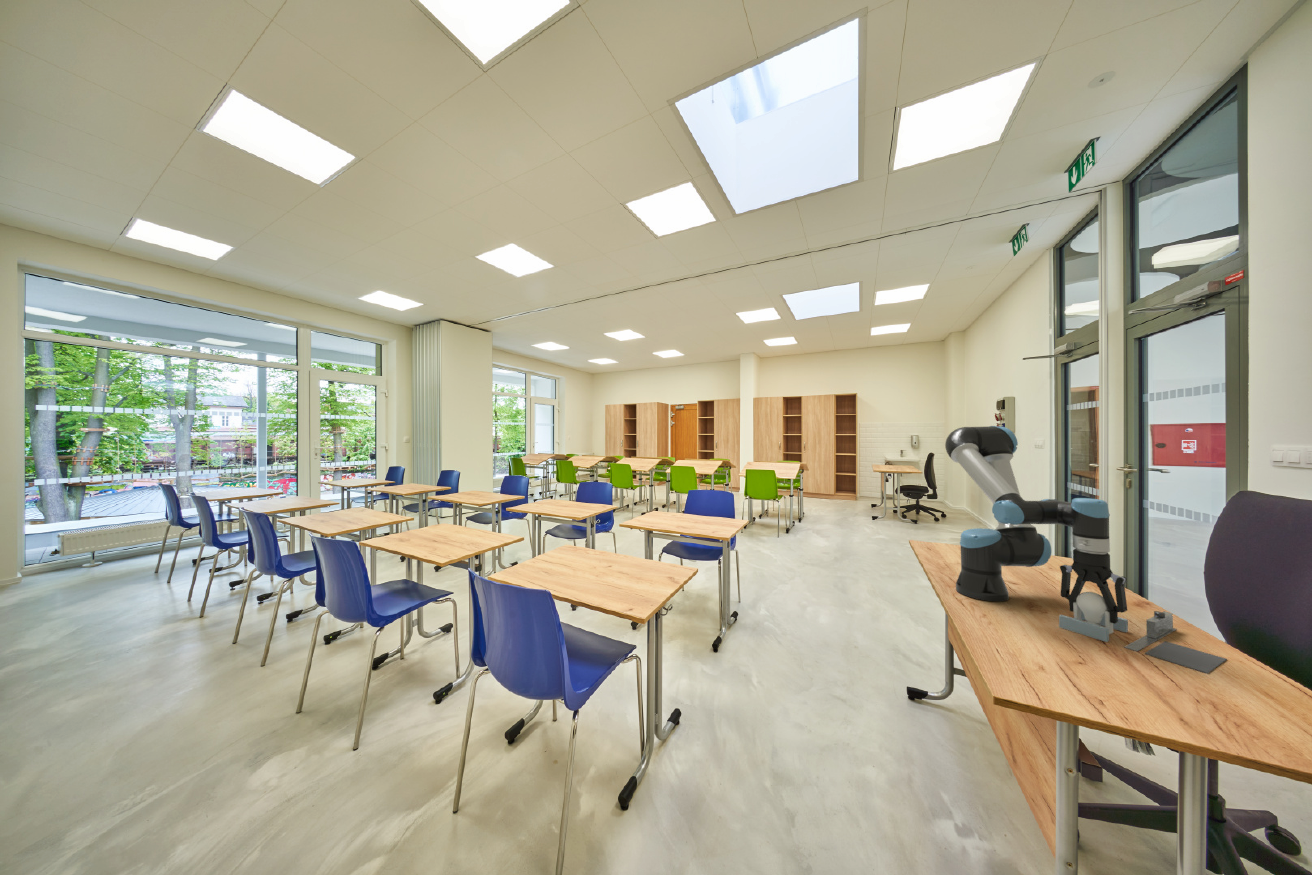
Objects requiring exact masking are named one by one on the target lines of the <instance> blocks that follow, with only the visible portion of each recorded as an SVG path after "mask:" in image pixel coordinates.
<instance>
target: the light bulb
mask: <svg viewBox="0 0 1312 875" xmlns="http://www.w3.org/2000/svg"><path fill="white" fill-rule="evenodd" d="M1076 601H1077V605H1078V606H1079V608H1080V609H1081V610H1082V612H1083V614H1084V617H1085V619H1086V621H1085V622H1088V623H1092V624H1095V625H1098V626H1101V625H1100V623H1101V620H1102V617H1103V616H1104V615H1105V611H1108V607H1107V605H1106V603H1105V600H1104V598H1103V596H1102V594H1098V593H1097V592H1093V591H1084V592H1081V593H1080V594H1079V595H1078V597H1077V599H1076Z"/></svg>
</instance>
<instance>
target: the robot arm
mask: <svg viewBox="0 0 1312 875" xmlns="http://www.w3.org/2000/svg"><path fill="white" fill-rule="evenodd" d="M1018 444H1019V443H1018V439H1017V437H1016V433H1015V432H1013V431H1012V430H1011V429H1009V428H1007V427H1005V426H996V425H990V426H964V427H963V426H962V427H958V428H957V429H954V430H952V432H950V433H949V434H948V436H947V437H946V440H945V444H944V445H945V450H946V454H947V455H948V457H949V458H950V459H951V460H952V461H953V462H954V463H957V464H959V465H960V466H961V468H962V469H963V470H964V471H965V472H966V473H967V475H968V476H969V477H970V478H971V479H972V480H973V481H974V482H975V484H976V485H977V486H978V488H979V489H981V491H982V492H983V493H984V494H985V495H986V496H987V498H988V499H989V500H990V501H991V502H992V507H991V511H992V514H993V518H994V519H995V520H996V521H997V524H998V525H997V527H996V528H995V529H993V528H981V527H980V528H978V527H977V528H970V529H966V530H963V531H962V532H961V533H960V541H959V544H960V565H961V566H960V571H959V574H958V577H957V579H956V583H955V590H956V592H958V593H959V594H961V595H964V596H965V597H969V598H971V599H972V598H973V599H977V600H980V599H981V600H980V601H985V602H987V601H989V602H1005V601H1008V600H1009V599H1010V598H1009V593H1010V592H1009V589H1008V587H1007V586H1006V583H1005V580H1004V578H1003V574H1002V567H1026V568H1030V567H1031V568H1032V567H1040V566H1043V565H1046V564H1047V563H1048V562H1049V559H1051V556H1052V545H1051V543H1050V541H1049V539H1048V538H1046V536H1045V535H1044V534H1041V533H1039V532H1038V531H1037V528H1036V526H1034V525H1062V526H1066V527H1070V528H1072V547H1073V548H1074V549H1072V561H1073V563H1072V564H1071V565H1068V564H1062V565H1060V566H1059V568H1060V572H1061V582H1060V583H1061V584H1060V597H1062V598H1064V599H1066V600H1068V601H1069V602H1068V604H1069V607H1068V608H1069V611H1070V612H1072V613H1073V618H1075V619H1078V620H1081V609H1080V608H1079V606H1078V605H1077V601H1076V599H1077V597H1078V595H1079V594H1081V593H1082V590H1083V588H1084V586H1085V584H1086V582H1088V583H1089V582H1090V583H1093V584H1095V585H1096V587H1098V589H1099V591H1100V593H1101V594H1100V595H1101V596H1102V597H1103V598H1104V600H1105V603H1106V605H1107V607H1108V611H1105V626H1104V627H1105V628H1109V635H1111V634H1113V633H1114V629H1113V623H1114V624H1115V623H1117V622H1118V617H1119V616H1118V613H1120V614H1121V613H1125V612H1127V611H1128V604H1127V596H1126V595H1127V594H1126V589H1125V584H1126V582H1127V577H1125V576H1119V575H1117V574H1115V573H1114V572H1113V571H1112V570H1111V555H1110V554H1109V553H1110V551H1111V543H1110V511H1109V504H1108V502H1107V501H1105V500H1104V499H1098V498H1090V497H1089V498H1088V497H1077V498H1076V497H1075V498H1073V499H1071V502H1069V501H1064V500H1059V499H1053V498H1052V499H1051V498H1044V499H1043V498H1042V499H1041V500H1025V499H1023V497H1022V496H1021V494H1020V491H1019V488H1018V484H1017V480H1016V478H1015V475H1014V474H1015V473H1014V471H1013V468H1012V463H1011V460H1012V459H1013V458H1014V454H1015V453H1016V451H1017V449H1018V447H1017V446H1018ZM1072 572H1075V574H1076V575H1077V577H1076V579H1075V583H1074V586H1073V588H1072V589H1071V577H1072ZM1110 578H1111V579H1112V582H1113V583H1114V592H1115V598H1116V601H1115V598H1114V596H1113V594H1112V592H1111V590H1110V587H1109V583H1108V580H1109V579H1110ZM1070 590H1071V591H1070ZM1081 621H1082V620H1081Z"/></svg>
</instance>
